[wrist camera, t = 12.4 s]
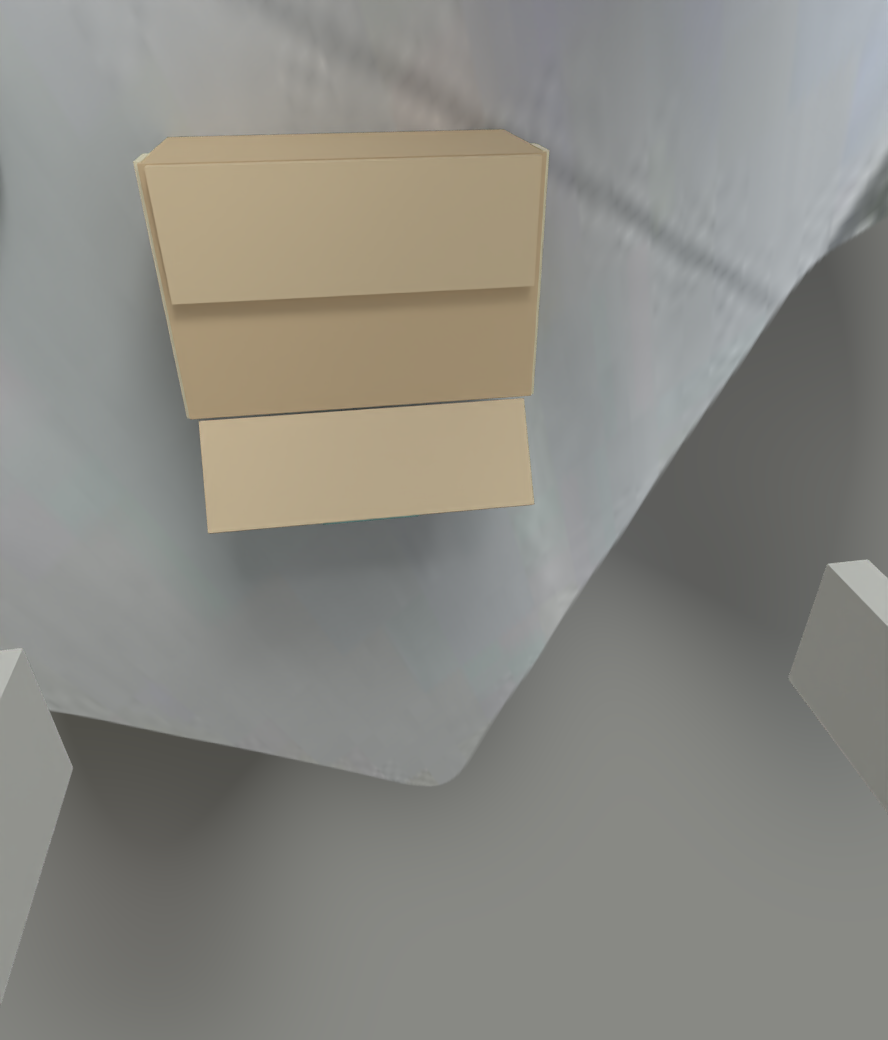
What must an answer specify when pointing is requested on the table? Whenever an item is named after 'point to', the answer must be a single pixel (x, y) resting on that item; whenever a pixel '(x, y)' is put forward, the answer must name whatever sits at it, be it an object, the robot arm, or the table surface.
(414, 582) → the table surface
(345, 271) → the carton
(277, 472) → the flap
